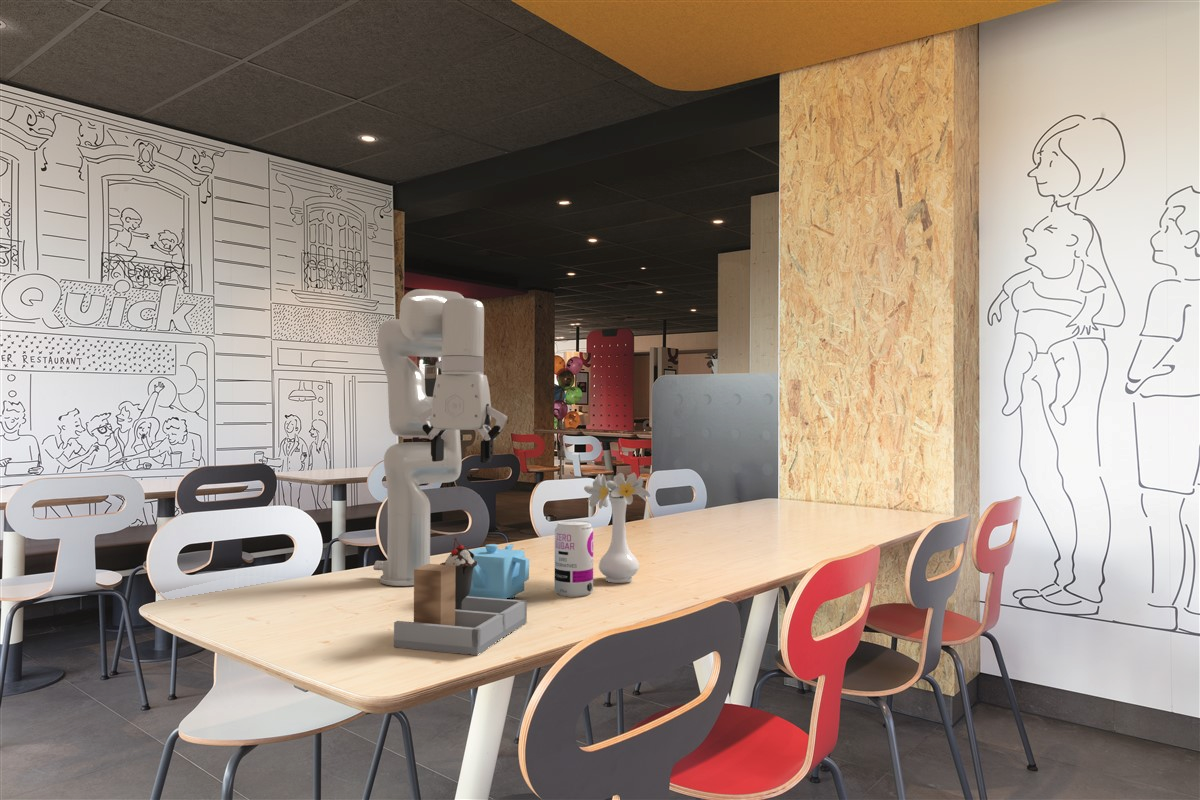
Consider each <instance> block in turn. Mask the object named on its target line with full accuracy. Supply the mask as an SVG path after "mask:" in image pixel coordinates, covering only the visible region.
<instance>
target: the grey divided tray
mask: <svg viewBox="0 0 1200 800" xmlns="http://www.w3.org/2000/svg"><path fill="white" fill-rule="evenodd" d="M527 602H528V601H527V600H523V599H522V600H520V599H519V600H518V599H497V598H484V597H471V596H467V597H466V598H464V599H463V601H462V610H456V609H455V626H450V625H439V624H428V623H417V622H414V621H405V620H395V621H394V622H393V647H394V648H400V649H401V648H402V649H410V650H417V651H418V650H419V651H429V652H431V651H432V652H437V653H439V652H440V653H450V654H457V653H461V654H460V655H467V654H471V655H470V656H476V655H478V654H479V653H481V652H482V653H484V652H485V651H487V650H488V649H489V648H488V647H490V646H491V645H493V644H494V643H495V642H497V641H498V640H500V639H501V638H503V637H505V636H506V635H508V634H509V633H511V632H512V633H514V632H515V631H516V630H515V629H517V628H518V627H520V626H521V627H523V626H524V625H526V624H527V623H526V622H527V619H528V618H527V610H528V609H527V608H528V607H527V606H528V603H527ZM525 623H526V624H525ZM523 624H524V625H523ZM522 625H523V626H522ZM521 627H520V628H521ZM518 629H519V628H518ZM518 629H517V630H518ZM514 630H515V631H514ZM513 631H514V632H513ZM512 633H511V634H512ZM509 635H510V634H509ZM509 635H508V636H509ZM506 637H507V636H506ZM506 637H505V638H506ZM503 639H504V638H503ZM500 641H501V640H500ZM497 643H498V642H497ZM494 645H495V644H494ZM494 645H493V646H494ZM491 647H492V646H491ZM491 647H490V648H491ZM487 648H488V649H487ZM486 649H487V650H486ZM484 650H485V651H484ZM483 651H484V652H483ZM482 653H481V654H482ZM479 655H480V654H479ZM479 655H478V656H479Z"/></svg>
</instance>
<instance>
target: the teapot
mask: <svg viewBox="0 0 1200 800" xmlns="http://www.w3.org/2000/svg"><path fill="white" fill-rule="evenodd" d="M484 546H485V547H477V548H474V549H471V550H469V551H470V552H472V553H473V554H474V558H473V560H475V561H477V565H476V566H475V567H474V568H473V574H472V582H471V588H470V593H469V594H468V595H467V596H471V597H484V598H497V599H507V598H514V597H515V595H516V596H517V594H520V593H522V592H524V591H525V582H527V581H529V579H530V558H528V557H525V550H521V549H520V550H519V549H512V548H513V547H514V544H513V543H512V544H507V545H506V546H505V547H504V549H503V548H498V546H499V544H496V543H489V544H485V545H484ZM514 599H515V598H514Z"/></svg>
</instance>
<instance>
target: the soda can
mask: <svg viewBox="0 0 1200 800" xmlns="http://www.w3.org/2000/svg"><path fill="white" fill-rule="evenodd" d="M554 591H555V592H556V593H557V594H559V596H561V595H562V597H566V596H570V598H579V597H580V596H581V597H586V596H588V594H589V595H590V594H591V593H592V592H593V591H594V528H593V526H592V524H591V522H590V521H589V520H588V521H587V520H563V521H562V520H561V521H558V522H557V525H556V526H555V529H554ZM581 597H580V598H581Z"/></svg>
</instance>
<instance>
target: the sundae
mask: <svg viewBox="0 0 1200 800" xmlns="http://www.w3.org/2000/svg"><path fill="white" fill-rule="evenodd" d="M453 539H454V542H453V549H451V550H450V554H449V555H448V556H447V558H446V560H445V562H441V563H440V564H441V565H456V573H455V609H456V610H462V601H463V599H464V598H466V597H467V595H468V594H469V593H470V588H471V582H472V574H473V568H474V567H475V566H476V565H477V561H475V560H473V558H474V554H473V553H472V552H470V551H471V550H469V549H468V548H466V547H464V545H463V544H460V543H459V542H458V537H457V536H455V537H454V538H453ZM456 544H457V547H456Z"/></svg>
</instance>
